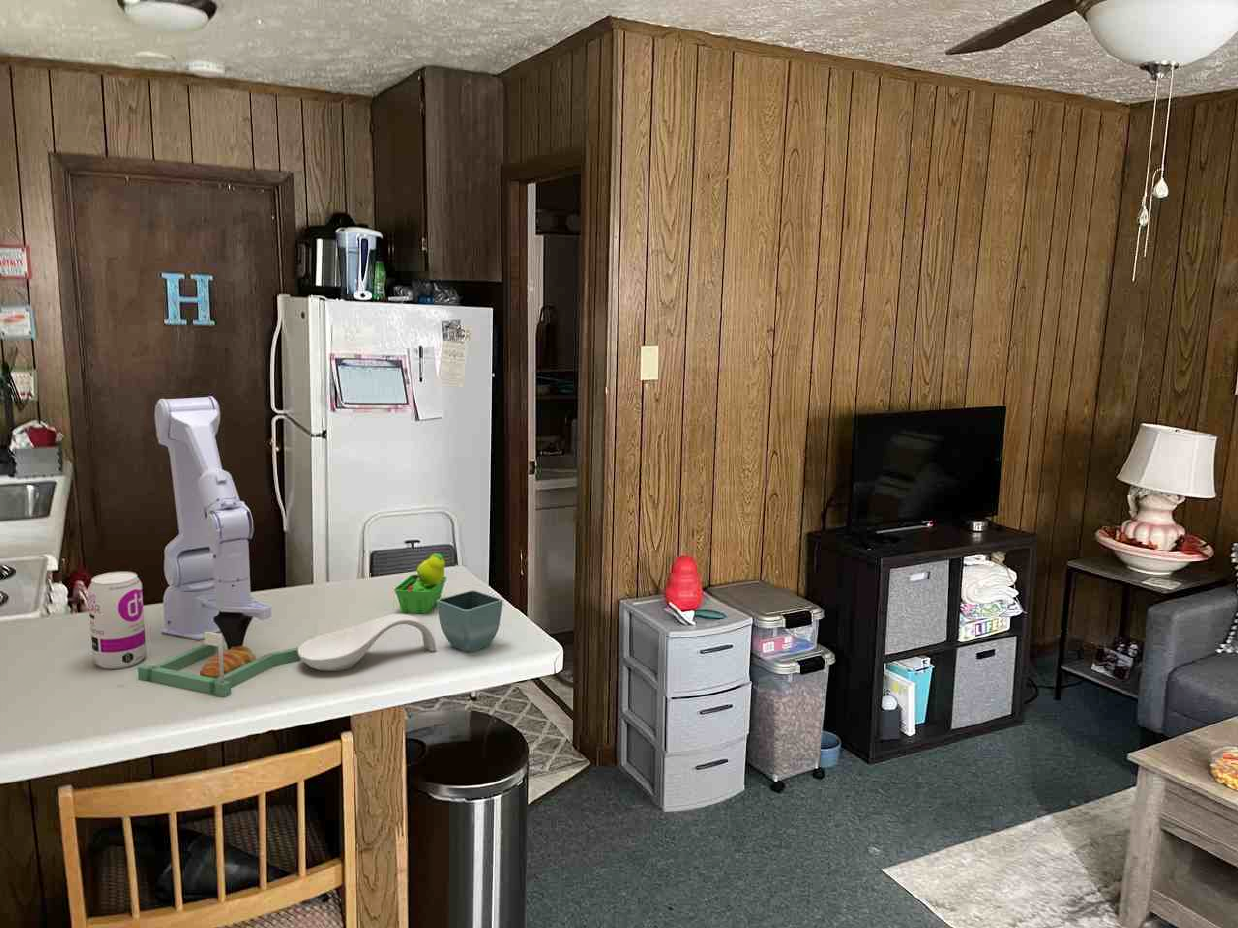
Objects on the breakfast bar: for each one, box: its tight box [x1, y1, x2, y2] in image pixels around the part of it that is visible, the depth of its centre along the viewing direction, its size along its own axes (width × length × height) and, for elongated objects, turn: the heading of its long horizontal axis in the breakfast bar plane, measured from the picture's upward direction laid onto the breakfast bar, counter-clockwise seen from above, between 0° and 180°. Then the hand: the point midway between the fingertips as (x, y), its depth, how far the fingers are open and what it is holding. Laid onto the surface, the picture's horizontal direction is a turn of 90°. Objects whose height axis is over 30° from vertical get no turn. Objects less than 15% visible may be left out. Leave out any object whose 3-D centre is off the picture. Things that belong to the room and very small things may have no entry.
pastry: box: [199, 645, 257, 679], centre depth 164 cm, size 9×7×4 cm
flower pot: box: [436, 589, 504, 653], centre depth 179 cm, size 9×9×9 cm
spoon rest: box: [298, 613, 437, 672], centre depth 173 cm, size 24×12×7 cm, turn 121°
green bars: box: [137, 632, 302, 698], centre depth 166 cm, size 19×18×10 cm
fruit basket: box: [394, 553, 447, 614], centre depth 201 cm, size 11×9×11 cm
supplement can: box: [87, 571, 148, 670], centre depth 168 cm, size 8×8×15 cm
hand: (235, 652), depth 170 cm, fingers closed
